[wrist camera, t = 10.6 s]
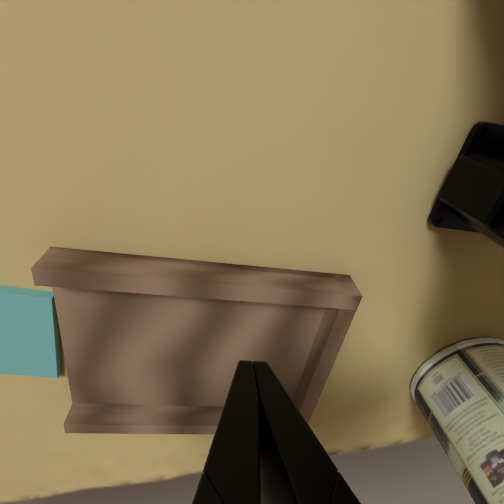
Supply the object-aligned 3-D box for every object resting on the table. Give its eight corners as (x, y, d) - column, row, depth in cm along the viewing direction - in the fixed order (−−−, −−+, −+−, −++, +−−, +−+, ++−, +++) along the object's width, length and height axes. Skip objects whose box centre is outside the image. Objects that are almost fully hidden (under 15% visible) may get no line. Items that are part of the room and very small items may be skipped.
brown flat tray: (349, 275, 23) (362, 295, 21) (297, 410, 31) (302, 434, 29) (50, 246, 20) (31, 268, 18) (76, 405, 28) (65, 432, 26)
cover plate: (59, 287, 22) (51, 298, 21) (64, 365, 26) (57, 378, 25) (-57, 272, 21) (-72, 283, 20) (-34, 356, 25) (-45, 369, 24)
